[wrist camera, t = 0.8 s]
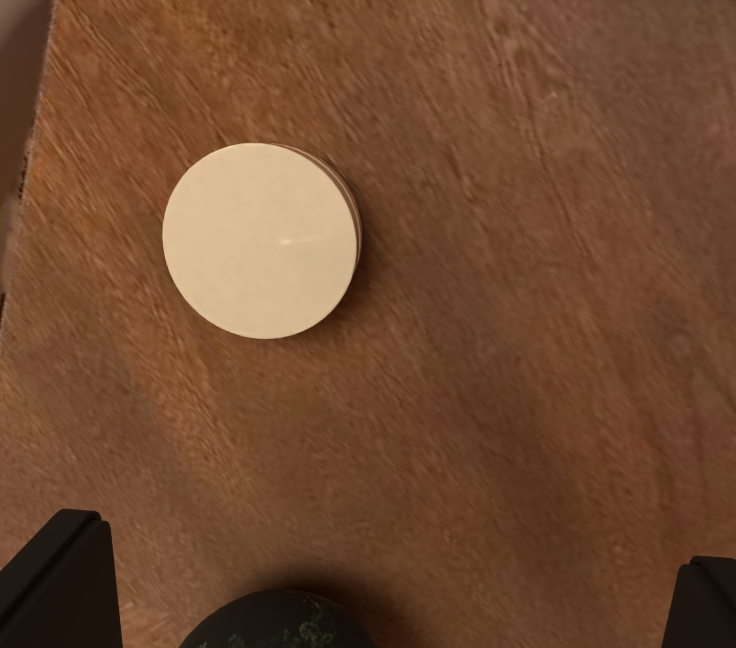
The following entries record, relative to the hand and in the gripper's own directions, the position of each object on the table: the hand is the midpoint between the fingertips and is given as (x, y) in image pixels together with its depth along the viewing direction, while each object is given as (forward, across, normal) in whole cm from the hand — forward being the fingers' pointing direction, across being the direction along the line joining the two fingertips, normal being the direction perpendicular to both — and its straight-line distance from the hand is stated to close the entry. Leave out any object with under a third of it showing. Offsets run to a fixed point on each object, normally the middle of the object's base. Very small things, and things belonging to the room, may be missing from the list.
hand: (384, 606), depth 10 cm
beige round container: (+15, +5, -4) cm, 16 cm away
